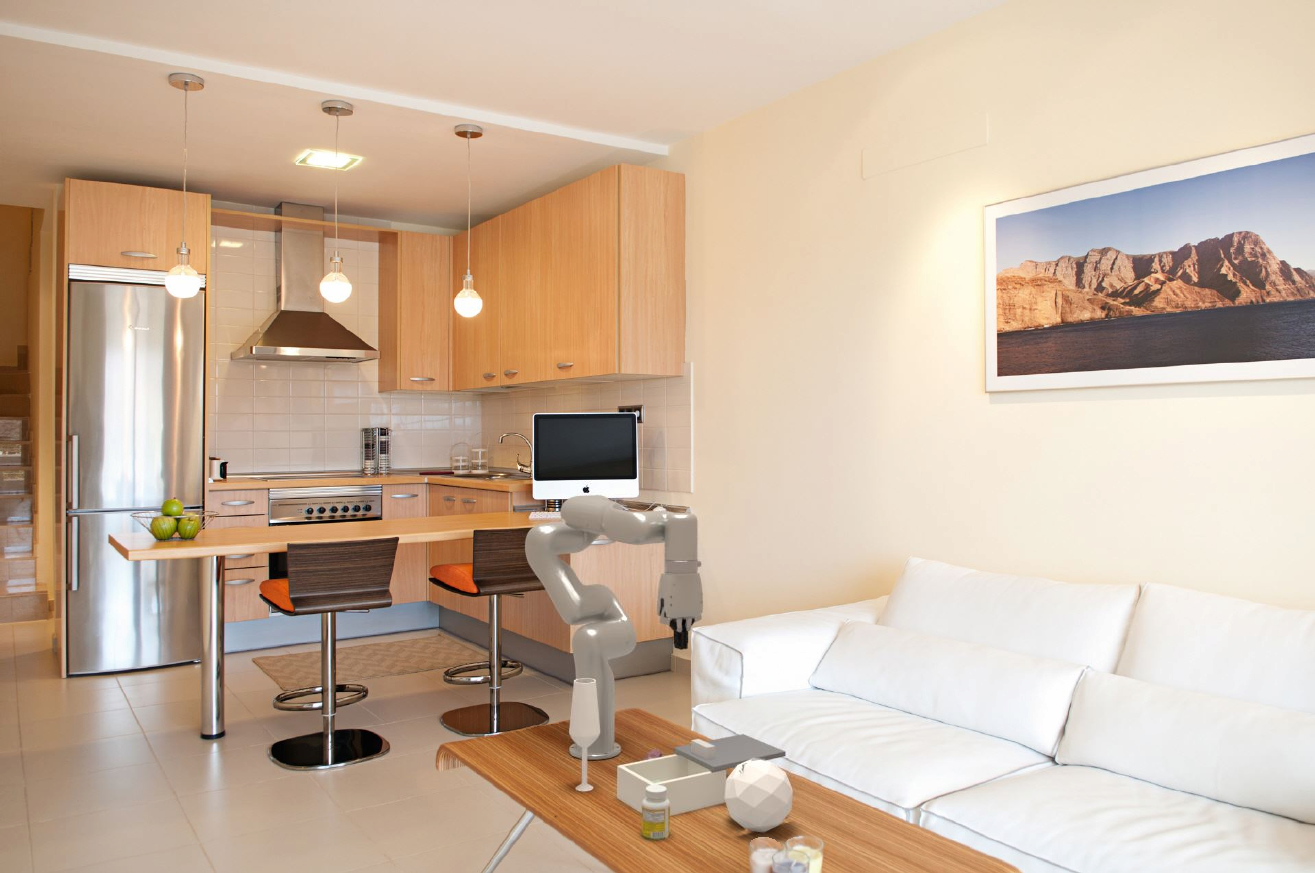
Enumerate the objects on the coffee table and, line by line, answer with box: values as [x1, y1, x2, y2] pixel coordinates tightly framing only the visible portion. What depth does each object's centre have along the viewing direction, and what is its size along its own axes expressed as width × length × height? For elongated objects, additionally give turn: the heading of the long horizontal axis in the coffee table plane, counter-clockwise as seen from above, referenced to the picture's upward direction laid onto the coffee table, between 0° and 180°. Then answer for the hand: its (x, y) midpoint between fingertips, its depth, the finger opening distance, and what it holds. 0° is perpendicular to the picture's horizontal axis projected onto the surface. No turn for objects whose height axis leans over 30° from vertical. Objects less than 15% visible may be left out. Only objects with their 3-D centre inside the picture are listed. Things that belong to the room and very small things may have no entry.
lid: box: [673, 733, 787, 772], centre depth 202 cm, size 15×19×4 cm
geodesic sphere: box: [724, 757, 794, 834], centre depth 182 cm, size 14×14×14 cm
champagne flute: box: [568, 678, 600, 792], centre depth 201 cm, size 7×7×24 cm
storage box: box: [616, 753, 727, 817], centre depth 194 cm, size 14×18×8 cm
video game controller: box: [641, 748, 664, 761], centre depth 211 cm, size 10×5×7 cm, turn 169°
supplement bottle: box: [641, 785, 671, 841], centre depth 177 cm, size 5×5×10 cm
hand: (680, 648), depth 211 cm, fingers closed
